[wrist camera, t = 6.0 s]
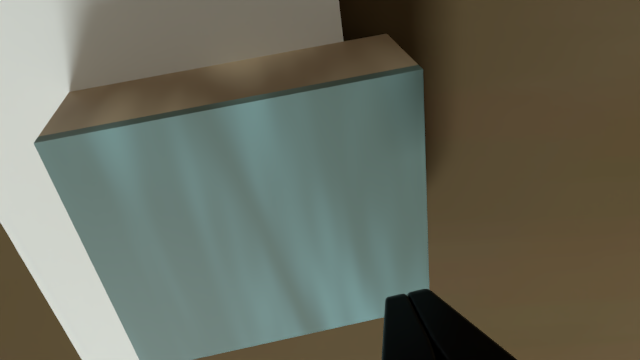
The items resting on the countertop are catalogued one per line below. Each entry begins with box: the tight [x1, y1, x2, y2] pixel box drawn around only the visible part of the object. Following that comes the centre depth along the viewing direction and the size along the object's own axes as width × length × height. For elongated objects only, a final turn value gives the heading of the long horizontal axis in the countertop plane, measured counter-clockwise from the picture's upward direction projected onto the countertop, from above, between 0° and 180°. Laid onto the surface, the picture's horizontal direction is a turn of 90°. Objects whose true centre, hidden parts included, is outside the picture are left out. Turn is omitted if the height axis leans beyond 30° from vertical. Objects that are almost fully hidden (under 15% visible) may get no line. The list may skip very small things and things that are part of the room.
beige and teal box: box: [34, 34, 429, 360], centre depth 13 cm, size 3×7×8 cm
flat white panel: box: [0, 0, 344, 360], centre depth 15 cm, size 10×12×1 cm
